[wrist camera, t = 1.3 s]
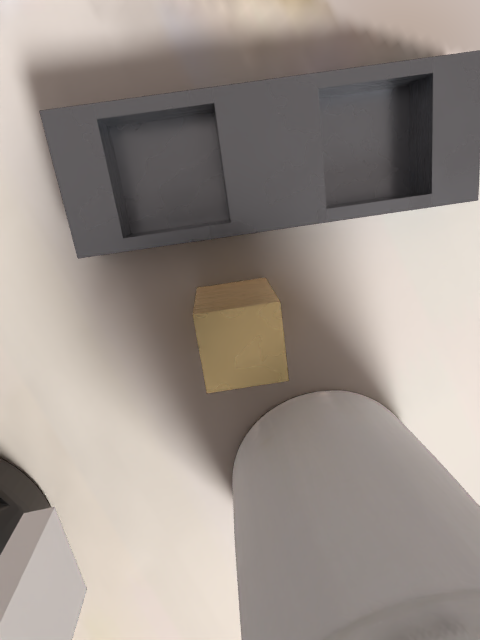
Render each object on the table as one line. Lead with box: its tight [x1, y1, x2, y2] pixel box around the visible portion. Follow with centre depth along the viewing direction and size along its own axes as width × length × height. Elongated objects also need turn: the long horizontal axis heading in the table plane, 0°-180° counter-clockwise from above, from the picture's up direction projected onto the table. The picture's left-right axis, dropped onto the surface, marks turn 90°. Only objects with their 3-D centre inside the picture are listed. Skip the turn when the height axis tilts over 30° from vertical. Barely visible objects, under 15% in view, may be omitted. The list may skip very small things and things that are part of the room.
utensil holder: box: [232, 390, 480, 640], centre depth 22 cm, size 15×15×18 cm
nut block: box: [193, 278, 289, 393], centre depth 24 cm, size 4×4×6 cm
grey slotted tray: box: [40, 50, 480, 258], centre depth 22 cm, size 22×7×3 cm, turn 98°
